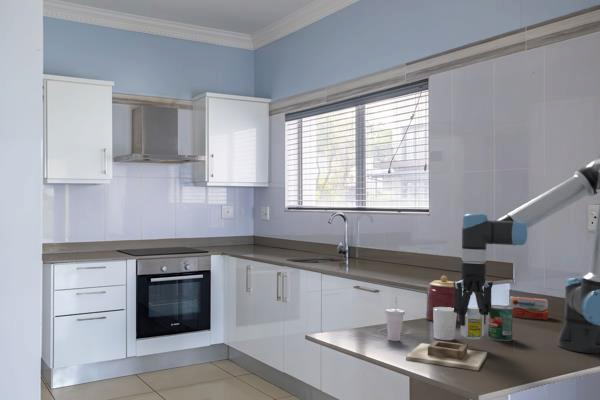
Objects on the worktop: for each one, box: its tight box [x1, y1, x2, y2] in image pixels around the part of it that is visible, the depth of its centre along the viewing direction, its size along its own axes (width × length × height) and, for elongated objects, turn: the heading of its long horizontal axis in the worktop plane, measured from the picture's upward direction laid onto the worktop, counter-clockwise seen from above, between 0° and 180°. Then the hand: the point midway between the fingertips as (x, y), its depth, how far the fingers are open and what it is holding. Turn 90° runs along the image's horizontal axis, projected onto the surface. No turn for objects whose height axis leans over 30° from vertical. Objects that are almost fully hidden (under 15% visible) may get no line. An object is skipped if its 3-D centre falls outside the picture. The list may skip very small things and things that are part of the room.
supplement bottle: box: [463, 306, 482, 341], centre depth 191 cm, size 5×5×10 cm
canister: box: [425, 275, 459, 323], centre depth 239 cm, size 13×13×18 cm
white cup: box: [432, 307, 457, 341], centre depth 204 cm, size 8×8×10 cm
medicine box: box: [509, 296, 549, 321], centre depth 257 cm, size 15×8×8 cm, turn 73°
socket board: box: [405, 339, 488, 371], centre depth 177 cm, size 20×20×4 cm
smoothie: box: [384, 296, 406, 342], centre depth 198 cm, size 6×6×14 cm
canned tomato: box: [487, 304, 514, 342], centre depth 208 cm, size 8×8×11 cm
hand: (472, 335), depth 191 cm, fingers closed on supplement bottle, 5 cm apart
